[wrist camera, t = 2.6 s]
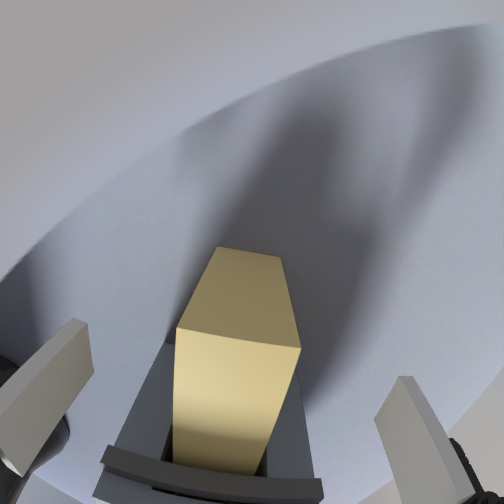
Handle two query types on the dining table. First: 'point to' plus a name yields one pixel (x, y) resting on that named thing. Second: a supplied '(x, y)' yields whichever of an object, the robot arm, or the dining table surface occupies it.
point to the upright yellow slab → (232, 364)
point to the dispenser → (197, 480)
